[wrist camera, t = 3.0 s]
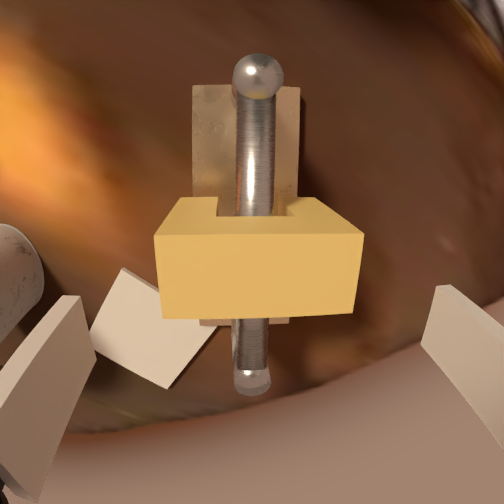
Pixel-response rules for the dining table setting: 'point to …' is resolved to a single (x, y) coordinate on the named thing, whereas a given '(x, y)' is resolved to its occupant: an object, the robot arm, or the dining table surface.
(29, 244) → the grey speckled cylinder
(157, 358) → the coaster
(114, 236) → the dining table surface
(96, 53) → the dining table surface
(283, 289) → the c link
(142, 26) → the dining table surface
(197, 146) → the rail stand
